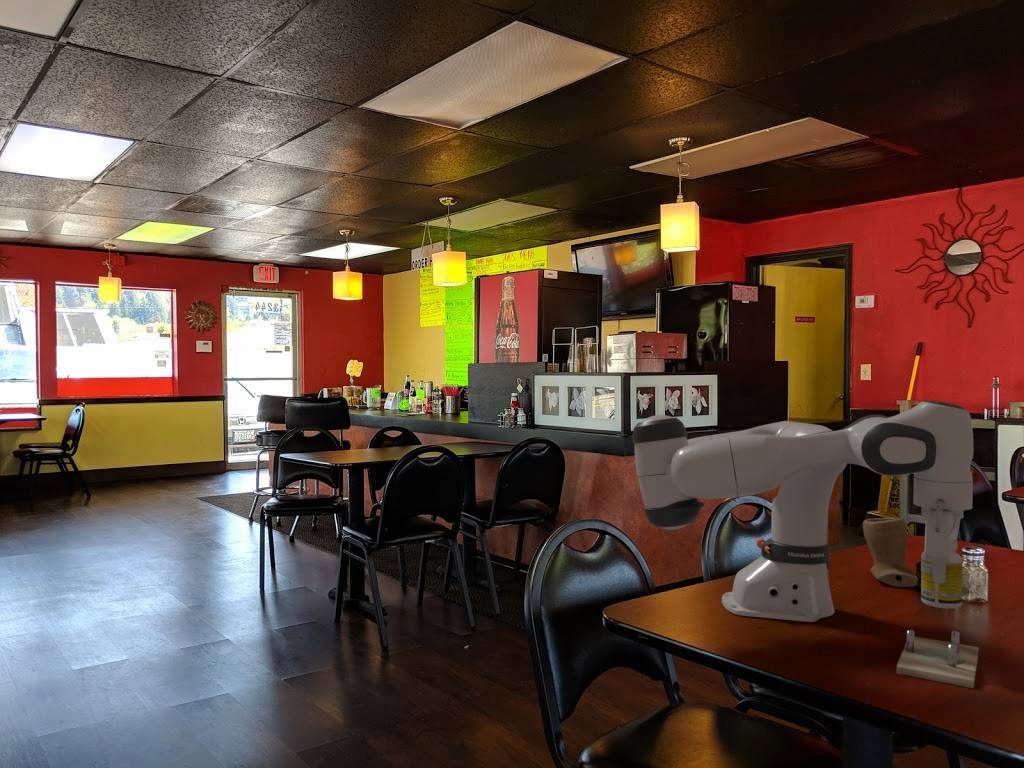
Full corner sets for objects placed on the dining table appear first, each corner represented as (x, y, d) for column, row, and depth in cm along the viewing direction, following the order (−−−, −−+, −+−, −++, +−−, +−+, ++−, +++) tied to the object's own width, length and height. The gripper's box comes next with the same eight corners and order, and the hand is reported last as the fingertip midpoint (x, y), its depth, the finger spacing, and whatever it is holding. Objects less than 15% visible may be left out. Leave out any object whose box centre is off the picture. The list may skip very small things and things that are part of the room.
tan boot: (859, 570, 197) (860, 511, 197) (912, 575, 193) (913, 514, 193) (866, 586, 182) (867, 522, 182) (923, 591, 179) (924, 525, 178)
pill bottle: (965, 603, 134) (966, 539, 134) (957, 612, 130) (958, 545, 130) (926, 597, 138) (926, 534, 138) (916, 604, 134) (916, 539, 134)
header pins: (956, 668, 129) (956, 646, 129) (903, 658, 133) (903, 637, 133) (959, 652, 136) (959, 632, 136) (909, 643, 141) (909, 623, 141)
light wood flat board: (973, 688, 124) (973, 680, 124) (896, 673, 130) (896, 665, 130) (978, 654, 139) (978, 646, 139) (909, 642, 145) (909, 635, 145)
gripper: (960, 506, 123) (958, 594, 124) (966, 490, 141) (965, 567, 141) (915, 502, 127) (913, 588, 127) (927, 487, 144) (925, 562, 144)
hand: (941, 577), depth 134 cm, fingers closed on pill bottle, 6 cm apart
